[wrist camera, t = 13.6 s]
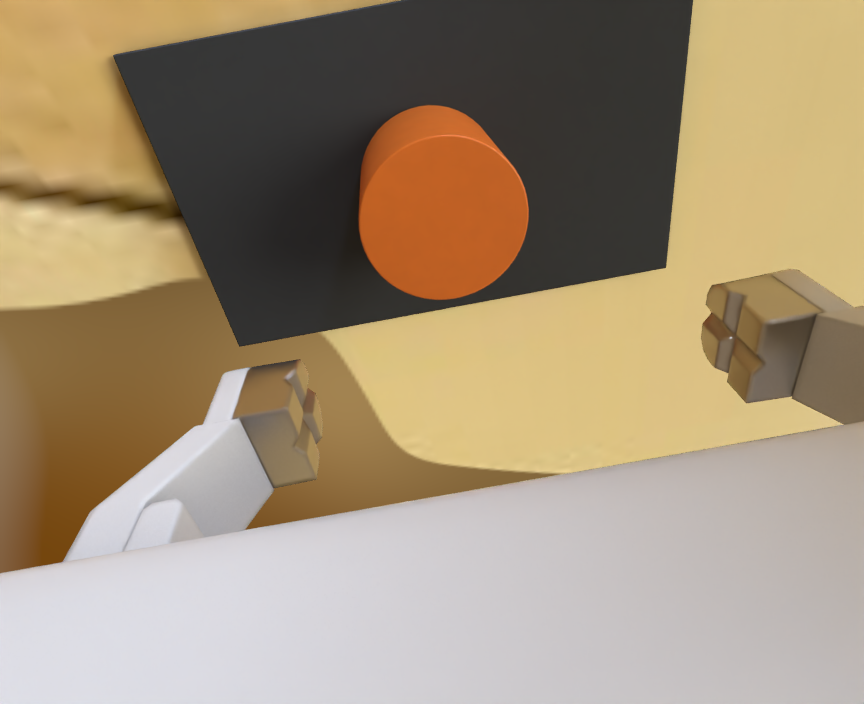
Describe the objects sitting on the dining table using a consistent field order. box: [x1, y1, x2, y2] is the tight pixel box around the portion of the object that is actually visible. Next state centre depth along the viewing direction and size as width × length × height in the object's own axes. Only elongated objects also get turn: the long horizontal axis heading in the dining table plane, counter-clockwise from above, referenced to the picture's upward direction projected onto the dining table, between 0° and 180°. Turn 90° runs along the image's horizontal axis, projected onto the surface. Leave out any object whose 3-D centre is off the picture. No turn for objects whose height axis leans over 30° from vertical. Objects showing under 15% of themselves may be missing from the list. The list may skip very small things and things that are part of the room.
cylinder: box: [359, 105, 529, 300], centre depth 19 cm, size 6×6×5 cm
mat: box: [113, 0, 693, 346], centre depth 22 cm, size 20×12×1 cm, turn 99°
